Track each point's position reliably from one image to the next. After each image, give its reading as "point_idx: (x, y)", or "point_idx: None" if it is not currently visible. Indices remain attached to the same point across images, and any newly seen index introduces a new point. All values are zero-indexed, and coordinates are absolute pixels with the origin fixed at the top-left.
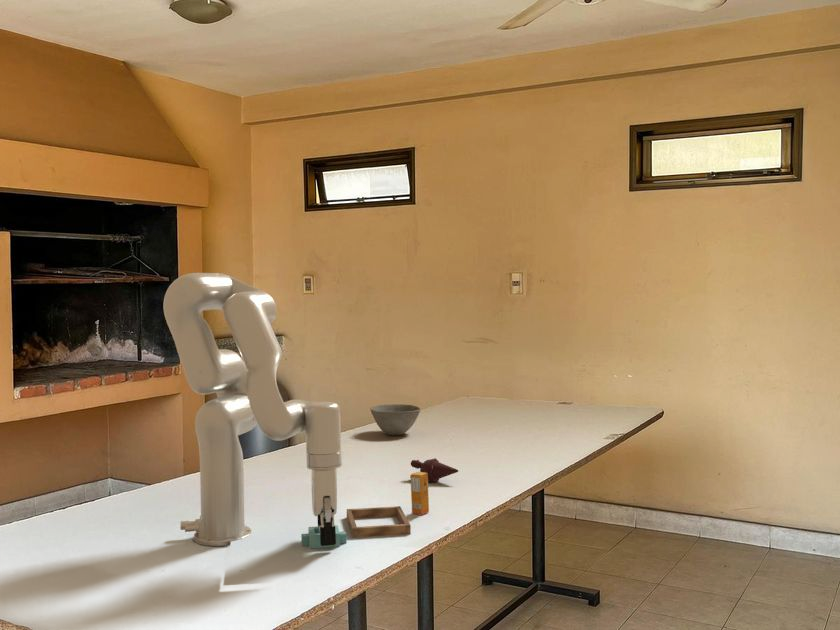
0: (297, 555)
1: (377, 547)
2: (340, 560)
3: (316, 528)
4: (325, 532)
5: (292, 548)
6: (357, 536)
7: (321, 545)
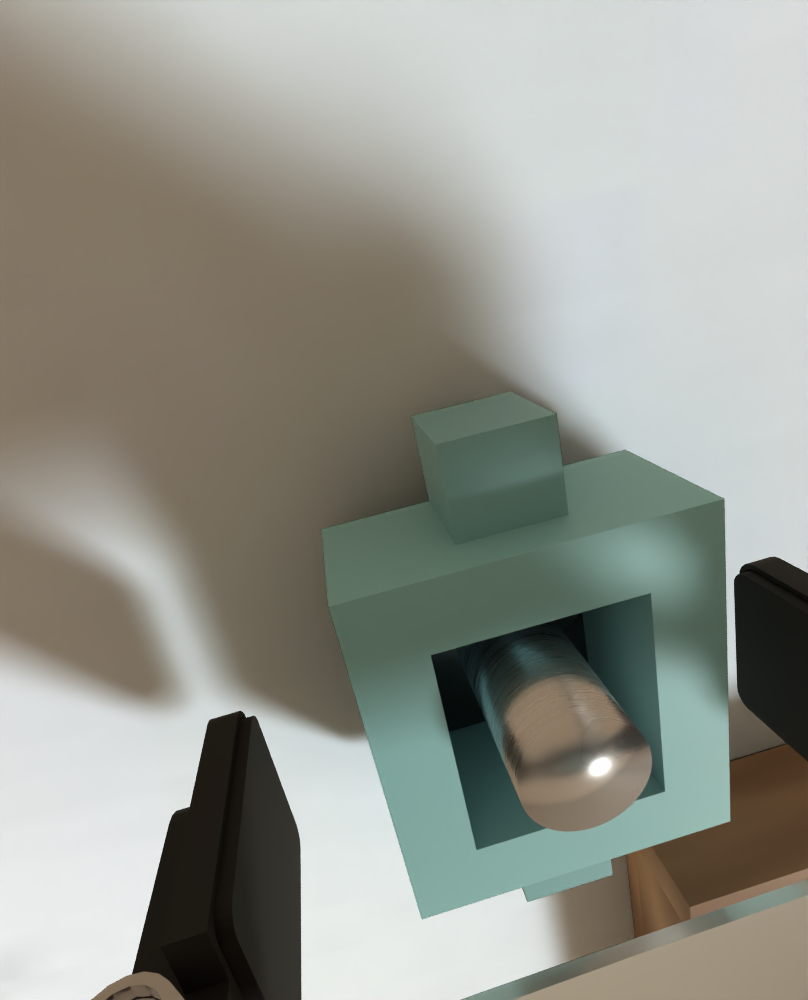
0: (235, 388)
1: (484, 968)
2: (148, 816)
3: (649, 620)
4: (152, 941)
5: (472, 276)
6: (646, 863)
7: (211, 722)
